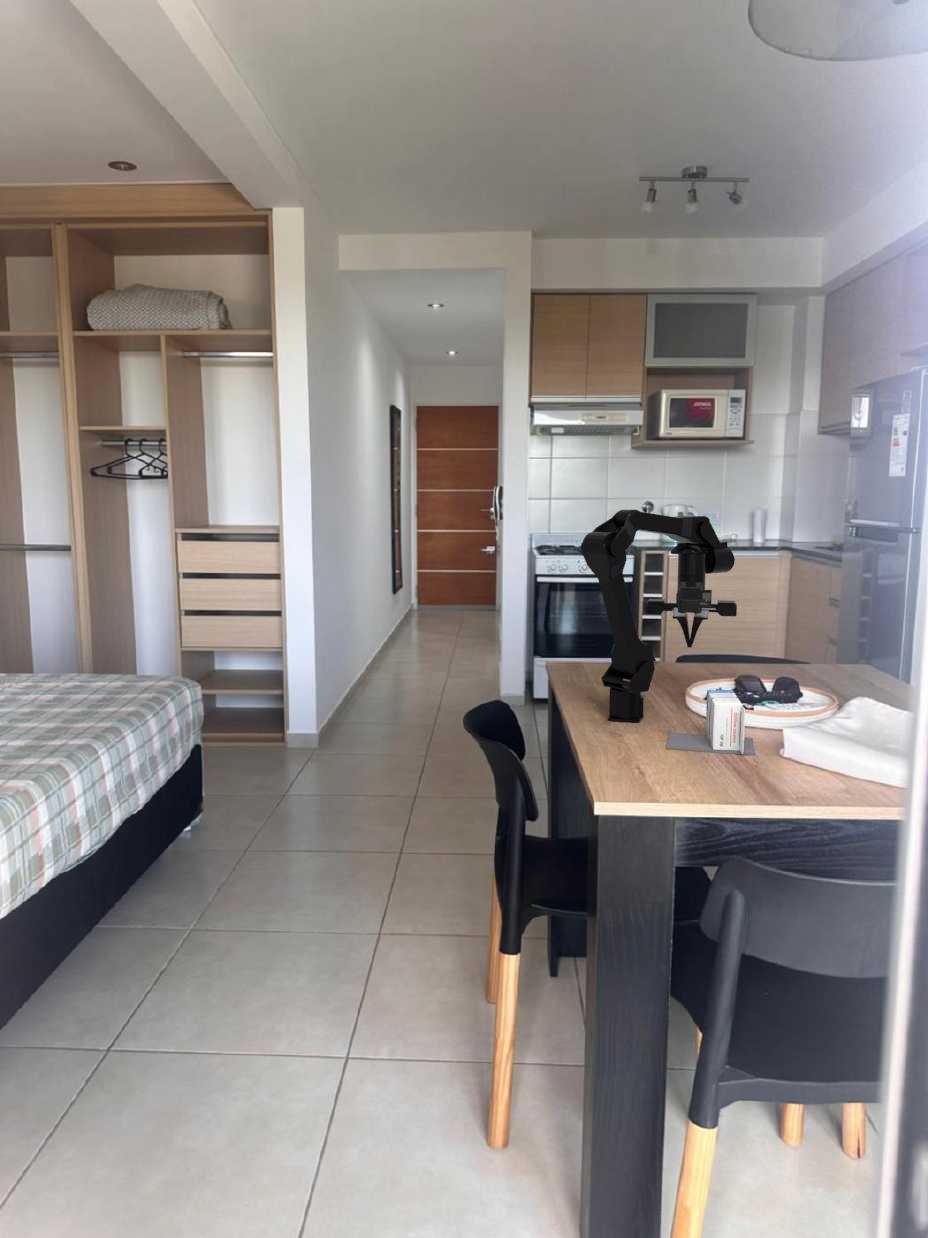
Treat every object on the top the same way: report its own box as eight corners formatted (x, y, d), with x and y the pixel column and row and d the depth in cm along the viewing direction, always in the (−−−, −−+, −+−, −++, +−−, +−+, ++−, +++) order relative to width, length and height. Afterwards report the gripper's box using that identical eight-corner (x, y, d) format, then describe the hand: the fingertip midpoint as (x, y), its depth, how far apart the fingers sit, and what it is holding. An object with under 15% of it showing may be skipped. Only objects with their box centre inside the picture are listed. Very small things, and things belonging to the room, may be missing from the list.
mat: (666, 749, 149) (666, 746, 149) (669, 734, 159) (669, 732, 159) (754, 755, 145) (754, 753, 145) (752, 740, 155) (752, 737, 154)
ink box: (706, 688, 157) (716, 706, 143) (733, 689, 157) (745, 707, 142) (705, 732, 159) (714, 755, 144) (731, 733, 158) (744, 756, 143)
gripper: (643, 577, 172) (642, 651, 174) (738, 579, 167) (735, 655, 169) (648, 573, 183) (646, 643, 185) (737, 574, 177) (734, 646, 179)
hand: (689, 647), depth 179 cm, fingers closed
